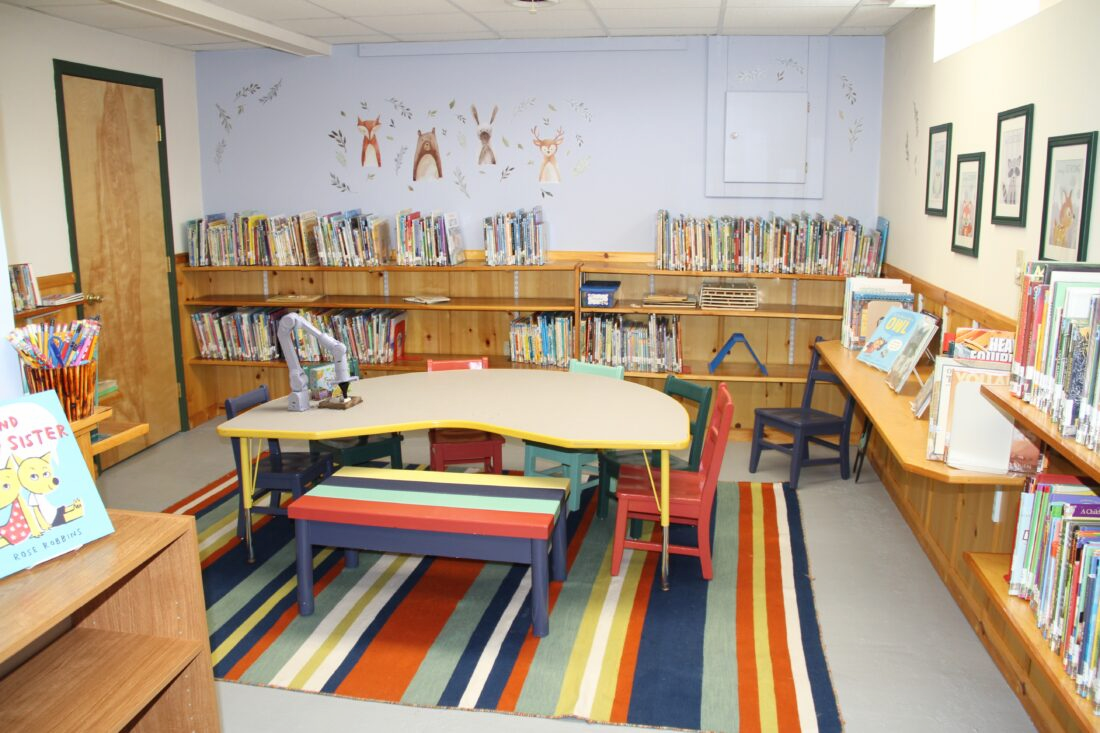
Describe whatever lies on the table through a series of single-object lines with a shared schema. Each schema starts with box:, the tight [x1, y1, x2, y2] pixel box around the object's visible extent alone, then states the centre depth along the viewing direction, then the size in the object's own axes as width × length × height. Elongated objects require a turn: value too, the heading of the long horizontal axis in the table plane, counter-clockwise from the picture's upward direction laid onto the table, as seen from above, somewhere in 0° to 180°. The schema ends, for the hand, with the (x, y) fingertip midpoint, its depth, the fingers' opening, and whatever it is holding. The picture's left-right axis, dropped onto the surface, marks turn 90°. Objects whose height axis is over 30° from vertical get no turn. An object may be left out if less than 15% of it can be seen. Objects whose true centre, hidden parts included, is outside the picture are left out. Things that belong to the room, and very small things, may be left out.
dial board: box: [316, 395, 364, 411], centre depth 406 cm, size 15×15×3 cm
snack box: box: [308, 362, 352, 401], centre depth 425 cm, size 21×6×15 cm, turn 146°
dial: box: [329, 394, 351, 403], centre depth 406 cm, size 10×10×4 cm
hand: (345, 398), depth 402 cm, fingers closed, pressing on dial
